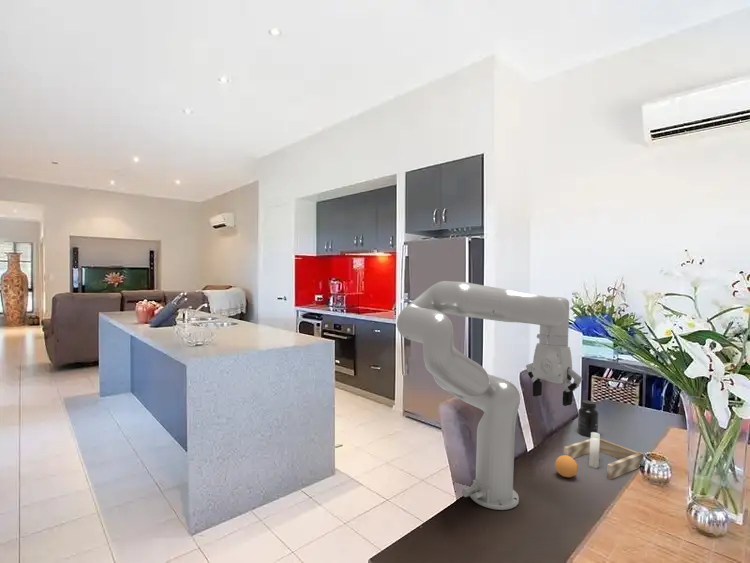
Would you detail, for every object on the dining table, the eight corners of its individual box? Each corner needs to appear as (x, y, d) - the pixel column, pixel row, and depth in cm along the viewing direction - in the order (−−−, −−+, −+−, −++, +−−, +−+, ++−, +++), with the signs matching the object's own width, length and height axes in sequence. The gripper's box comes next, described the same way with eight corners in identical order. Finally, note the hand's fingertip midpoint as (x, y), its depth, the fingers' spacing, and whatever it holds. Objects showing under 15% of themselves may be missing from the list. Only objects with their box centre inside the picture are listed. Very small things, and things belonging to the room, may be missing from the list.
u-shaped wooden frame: (610, 479, 123) (611, 466, 123) (563, 459, 136) (564, 446, 136) (643, 466, 132) (643, 453, 132) (596, 448, 145) (596, 436, 145)
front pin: (595, 468, 130) (596, 441, 129) (587, 465, 132) (588, 438, 132) (600, 466, 131) (601, 439, 131) (592, 463, 133) (593, 436, 133)
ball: (569, 483, 120) (569, 462, 120) (550, 474, 125) (551, 454, 125) (581, 478, 123) (582, 458, 123) (563, 469, 128) (563, 450, 128)
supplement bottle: (600, 438, 154) (601, 405, 154) (580, 436, 156) (581, 404, 155) (594, 431, 161) (595, 400, 161) (575, 429, 162) (576, 398, 162)
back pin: (596, 462, 134) (597, 435, 134) (588, 459, 136) (589, 433, 136) (600, 460, 135) (601, 434, 135) (592, 457, 138) (593, 431, 138)
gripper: (519, 337, 125) (518, 394, 126) (573, 346, 111) (571, 411, 111) (536, 335, 129) (534, 390, 130) (590, 344, 115) (588, 406, 115)
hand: (551, 400), depth 120 cm, fingers open, 9 cm apart
